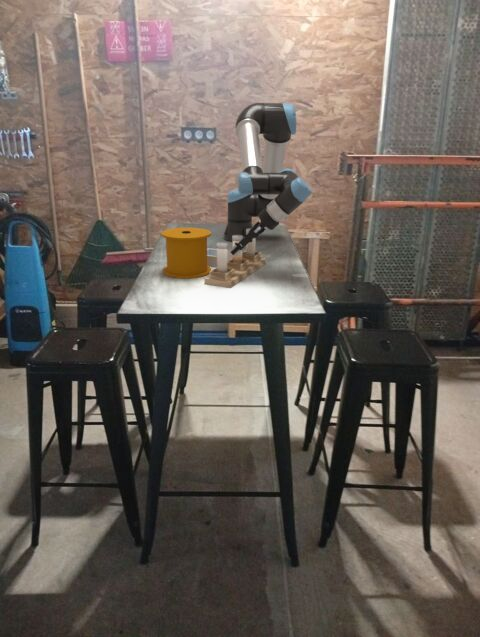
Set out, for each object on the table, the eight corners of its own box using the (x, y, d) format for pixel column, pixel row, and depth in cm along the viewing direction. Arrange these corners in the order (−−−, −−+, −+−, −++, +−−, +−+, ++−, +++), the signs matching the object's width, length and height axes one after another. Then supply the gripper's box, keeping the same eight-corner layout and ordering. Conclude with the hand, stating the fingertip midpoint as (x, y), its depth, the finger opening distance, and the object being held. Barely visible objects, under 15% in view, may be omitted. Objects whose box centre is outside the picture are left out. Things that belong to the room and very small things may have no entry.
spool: (213, 277, 175) (213, 236, 170) (163, 279, 173) (161, 238, 167) (208, 264, 192) (208, 226, 186) (162, 265, 189) (161, 227, 183)
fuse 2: (247, 257, 193) (248, 227, 189) (256, 258, 192) (257, 228, 187) (244, 260, 190) (244, 229, 186) (253, 261, 189) (253, 230, 184)
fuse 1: (219, 275, 171) (219, 241, 167) (229, 276, 170) (229, 242, 165) (214, 278, 168) (214, 244, 164) (224, 279, 167) (224, 245, 162)
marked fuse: (234, 265, 182) (234, 234, 178) (243, 267, 181) (244, 235, 176) (230, 268, 179) (230, 236, 175) (239, 269, 178) (240, 237, 173)
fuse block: (242, 260, 197) (242, 249, 195) (265, 263, 193) (266, 252, 192) (204, 283, 168) (204, 271, 167) (230, 287, 165) (230, 275, 163)
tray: (208, 257, 201) (208, 248, 199) (232, 260, 197) (233, 251, 195) (196, 264, 191) (195, 254, 190) (221, 267, 187) (221, 257, 186)
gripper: (274, 229, 159) (229, 271, 168) (285, 217, 181) (244, 254, 190) (259, 212, 158) (214, 255, 167) (271, 201, 180) (231, 239, 189)
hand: (230, 254), depth 179 cm, fingers open, 12 cm apart
